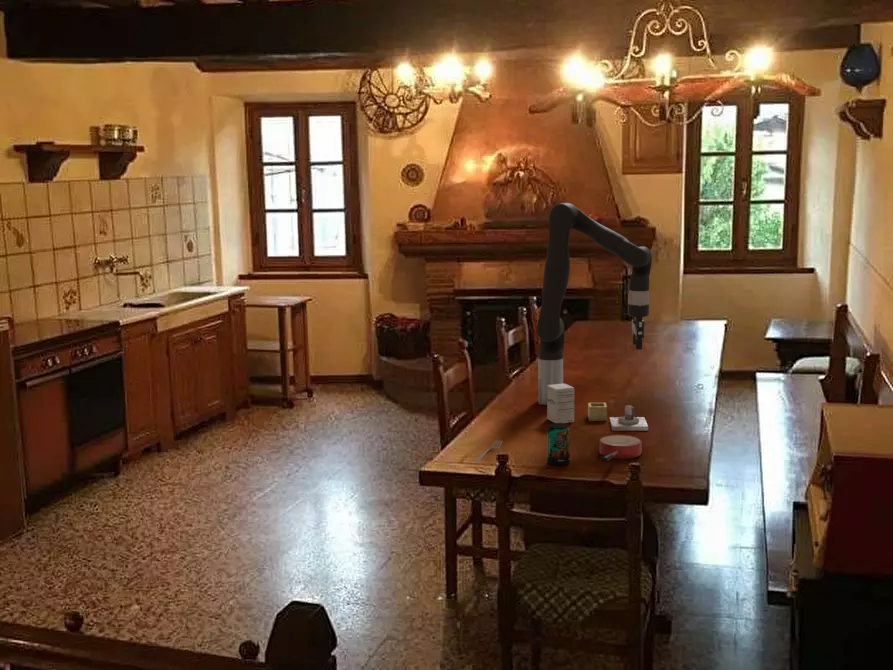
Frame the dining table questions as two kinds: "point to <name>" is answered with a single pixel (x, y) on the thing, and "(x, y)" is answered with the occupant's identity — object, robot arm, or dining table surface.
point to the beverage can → (558, 444)
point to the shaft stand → (628, 421)
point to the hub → (597, 411)
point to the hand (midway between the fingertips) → (637, 346)
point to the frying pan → (620, 447)
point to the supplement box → (560, 403)
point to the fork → (488, 450)
